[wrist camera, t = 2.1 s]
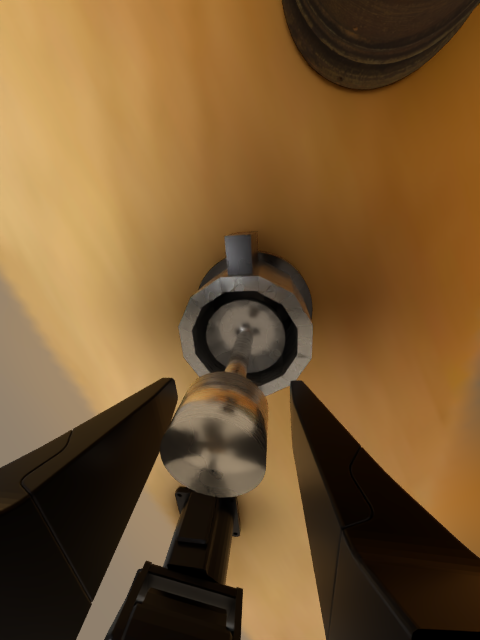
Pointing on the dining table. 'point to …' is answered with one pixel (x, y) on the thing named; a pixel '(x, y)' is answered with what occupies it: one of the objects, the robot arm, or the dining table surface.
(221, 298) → the octagonal collar cylinder
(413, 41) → the container
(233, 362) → the plunger
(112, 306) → the dining table surface
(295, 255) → the dining table surface
